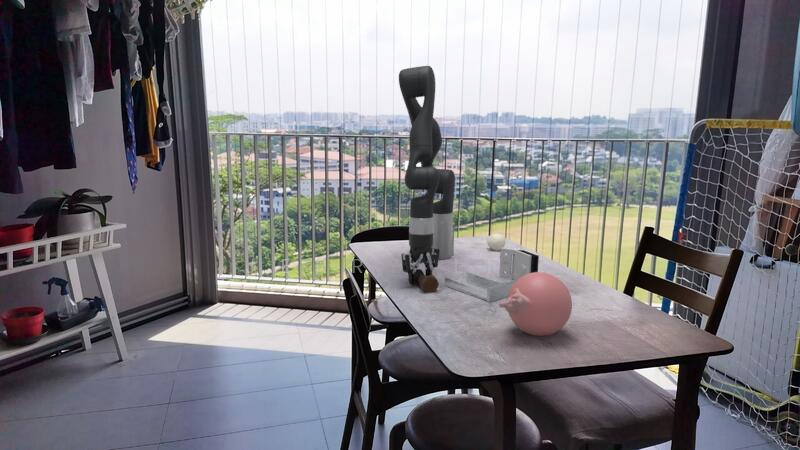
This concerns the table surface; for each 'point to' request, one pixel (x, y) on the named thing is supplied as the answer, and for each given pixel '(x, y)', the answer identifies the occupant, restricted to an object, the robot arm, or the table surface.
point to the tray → (480, 286)
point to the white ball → (496, 241)
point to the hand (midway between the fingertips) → (420, 282)
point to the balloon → (538, 304)
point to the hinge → (517, 263)
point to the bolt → (426, 281)
